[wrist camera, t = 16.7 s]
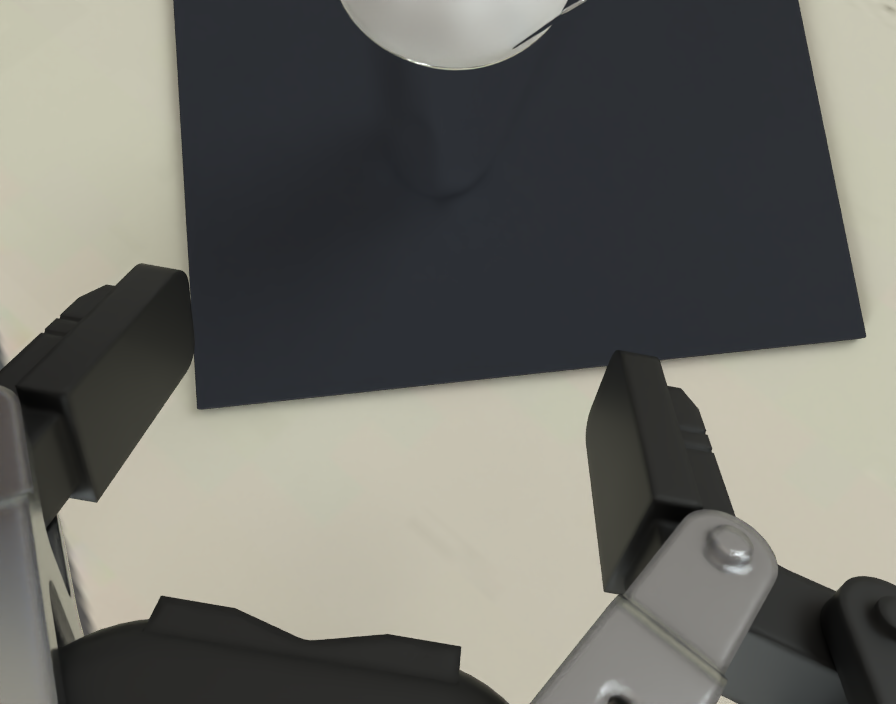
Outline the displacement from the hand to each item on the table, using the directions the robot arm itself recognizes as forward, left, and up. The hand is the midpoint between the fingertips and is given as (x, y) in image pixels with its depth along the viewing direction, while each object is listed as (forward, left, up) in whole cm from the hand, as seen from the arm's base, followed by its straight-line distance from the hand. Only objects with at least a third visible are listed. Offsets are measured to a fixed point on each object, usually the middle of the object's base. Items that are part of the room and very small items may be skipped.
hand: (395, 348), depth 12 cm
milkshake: (-2, -7, -7) cm, 10 cm away
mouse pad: (-4, -8, -7) cm, 11 cm away
